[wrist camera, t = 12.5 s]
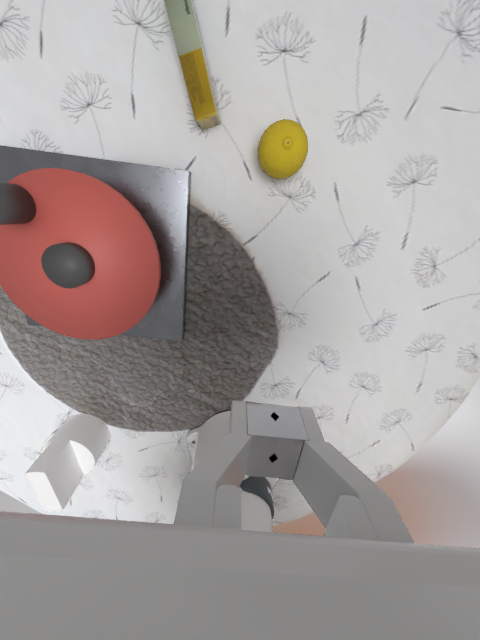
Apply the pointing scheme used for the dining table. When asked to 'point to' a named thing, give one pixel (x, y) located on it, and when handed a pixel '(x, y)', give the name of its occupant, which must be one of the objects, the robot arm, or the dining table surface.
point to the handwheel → (76, 254)
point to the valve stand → (154, 206)
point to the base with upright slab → (67, 460)
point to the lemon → (283, 149)
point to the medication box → (193, 61)
